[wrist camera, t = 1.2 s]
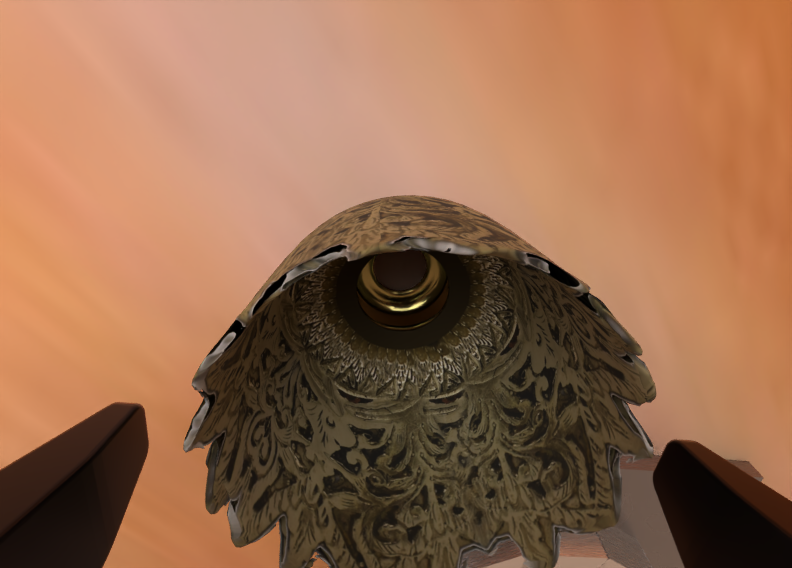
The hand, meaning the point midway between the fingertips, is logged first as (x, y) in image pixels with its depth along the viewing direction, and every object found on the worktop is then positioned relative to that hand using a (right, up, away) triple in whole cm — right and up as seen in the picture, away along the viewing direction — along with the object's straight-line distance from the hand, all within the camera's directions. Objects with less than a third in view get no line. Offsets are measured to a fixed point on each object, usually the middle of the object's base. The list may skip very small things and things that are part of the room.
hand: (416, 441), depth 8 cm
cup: (0, +3, +7) cm, 8 cm away
